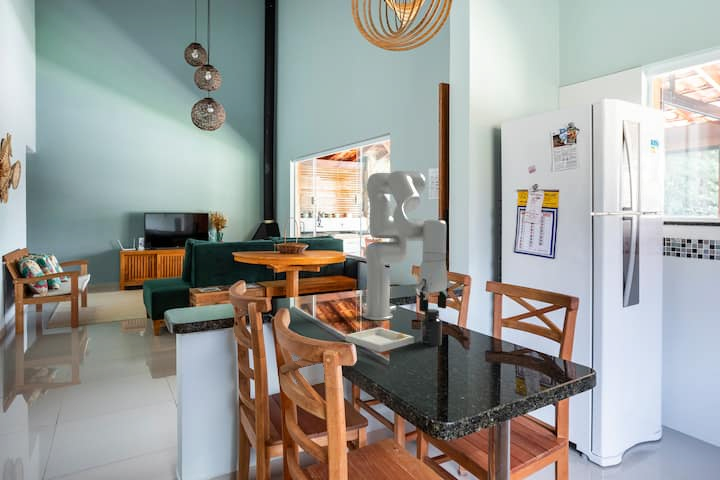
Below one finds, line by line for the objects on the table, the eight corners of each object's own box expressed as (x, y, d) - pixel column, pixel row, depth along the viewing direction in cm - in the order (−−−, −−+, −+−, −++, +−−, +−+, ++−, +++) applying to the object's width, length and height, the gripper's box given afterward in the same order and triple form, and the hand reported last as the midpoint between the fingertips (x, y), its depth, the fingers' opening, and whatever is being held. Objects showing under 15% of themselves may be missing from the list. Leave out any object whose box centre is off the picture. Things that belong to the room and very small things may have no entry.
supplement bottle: (427, 342, 155) (428, 307, 154) (445, 346, 151) (446, 310, 150) (416, 346, 150) (417, 310, 149) (434, 350, 145) (435, 313, 145)
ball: (400, 340, 152) (400, 331, 152) (407, 342, 150) (407, 333, 150) (394, 342, 150) (394, 333, 150) (401, 344, 148) (401, 335, 148)
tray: (378, 335, 162) (379, 327, 162) (413, 345, 150) (414, 336, 150) (345, 343, 151) (345, 334, 151) (380, 355, 139) (380, 345, 139)
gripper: (440, 255, 157) (439, 305, 158) (408, 258, 145) (407, 311, 146) (458, 257, 151) (457, 308, 152) (426, 259, 139) (425, 315, 140)
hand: (432, 309), depth 149 cm, fingers open, 9 cm apart
